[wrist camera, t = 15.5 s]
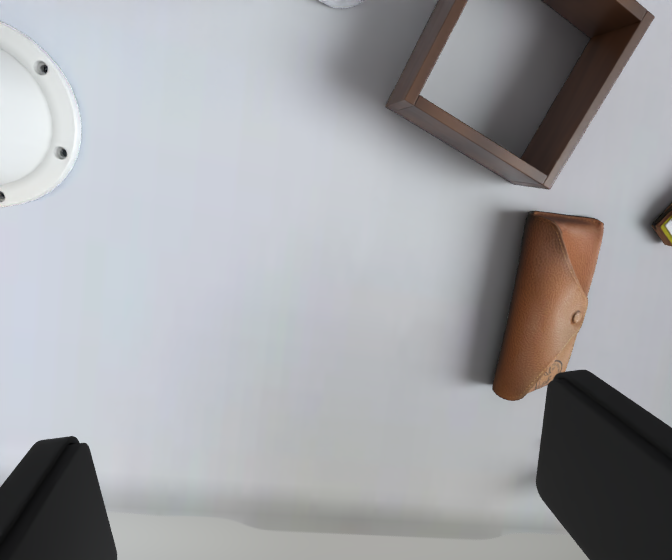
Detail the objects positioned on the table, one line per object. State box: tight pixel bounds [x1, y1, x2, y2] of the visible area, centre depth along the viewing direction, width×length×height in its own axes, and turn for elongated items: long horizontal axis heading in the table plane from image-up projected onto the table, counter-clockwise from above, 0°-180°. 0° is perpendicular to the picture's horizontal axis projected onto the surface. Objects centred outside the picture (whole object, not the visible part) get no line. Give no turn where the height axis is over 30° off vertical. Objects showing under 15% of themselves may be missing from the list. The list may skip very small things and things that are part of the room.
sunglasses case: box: [493, 211, 604, 401], centre depth 40 cm, size 18×7×7 cm
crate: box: [385, 0, 654, 189], centre depth 32 cm, size 14×14×5 cm
